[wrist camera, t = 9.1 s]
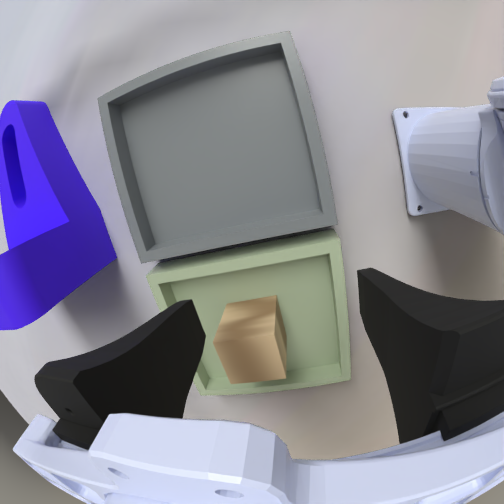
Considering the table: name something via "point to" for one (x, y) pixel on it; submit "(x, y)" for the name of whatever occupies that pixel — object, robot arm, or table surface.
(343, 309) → the olive bin
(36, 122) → the bracket
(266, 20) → the table surface
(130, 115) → the charcoal bin
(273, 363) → the oak block
